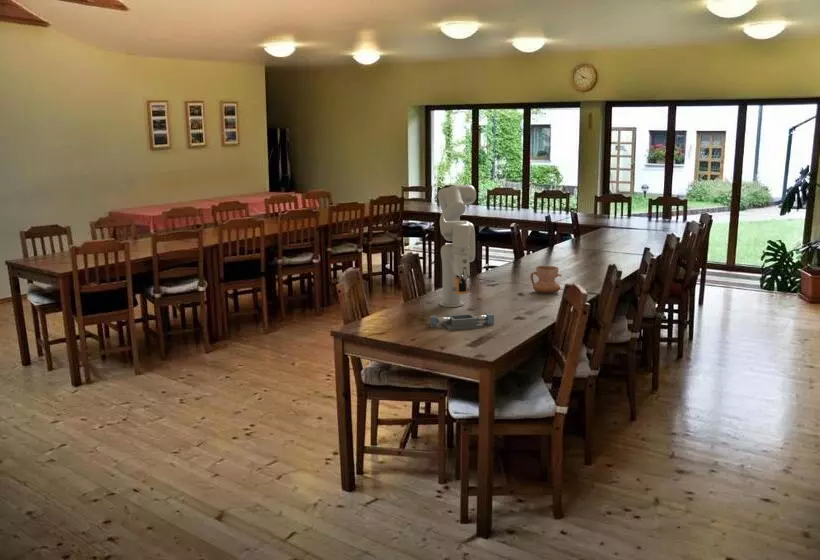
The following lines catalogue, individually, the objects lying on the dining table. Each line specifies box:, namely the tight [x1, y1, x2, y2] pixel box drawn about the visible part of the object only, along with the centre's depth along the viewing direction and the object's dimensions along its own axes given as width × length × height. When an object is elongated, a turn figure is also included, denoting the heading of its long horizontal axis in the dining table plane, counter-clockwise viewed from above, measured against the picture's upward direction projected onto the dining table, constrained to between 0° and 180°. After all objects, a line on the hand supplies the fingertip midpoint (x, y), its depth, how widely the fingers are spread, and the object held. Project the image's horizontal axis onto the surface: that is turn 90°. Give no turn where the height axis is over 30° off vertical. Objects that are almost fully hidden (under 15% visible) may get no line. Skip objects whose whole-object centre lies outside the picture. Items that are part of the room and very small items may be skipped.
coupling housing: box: [441, 313, 484, 331], centre depth 327 cm, size 11×16×4 cm
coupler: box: [452, 277, 470, 295], centre depth 324 cm, size 4×8×7 cm, turn 105°
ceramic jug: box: [529, 265, 563, 295], centre depth 391 cm, size 18×14×14 cm
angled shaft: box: [429, 315, 450, 328], centre depth 327 cm, size 9×4×4 cm, turn 80°
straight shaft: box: [474, 312, 495, 326], centre depth 330 cm, size 9×4×4 cm, turn 105°
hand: (460, 289), depth 324 cm, fingers closed on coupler, 4 cm apart
